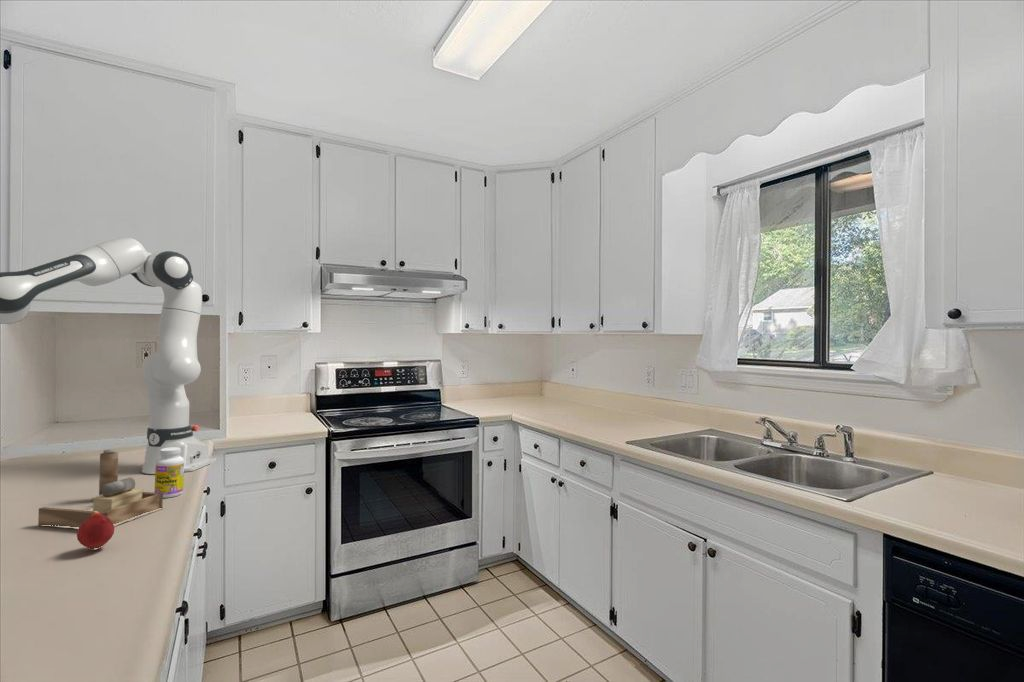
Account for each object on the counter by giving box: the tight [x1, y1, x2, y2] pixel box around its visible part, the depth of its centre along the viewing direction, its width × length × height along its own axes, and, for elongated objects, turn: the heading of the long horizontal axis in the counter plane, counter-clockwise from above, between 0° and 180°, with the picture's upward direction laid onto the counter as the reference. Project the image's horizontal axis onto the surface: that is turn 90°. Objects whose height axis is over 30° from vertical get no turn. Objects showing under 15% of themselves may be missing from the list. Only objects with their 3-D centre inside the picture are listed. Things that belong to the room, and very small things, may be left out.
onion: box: [76, 511, 115, 550], centre depth 103 cm, size 6×6×8 cm
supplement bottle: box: [153, 447, 185, 499], centre depth 140 cm, size 7×7×13 cm
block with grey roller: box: [91, 477, 145, 512], centre depth 121 cm, size 8×5×9 cm, turn 171°
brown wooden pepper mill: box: [98, 449, 119, 496], centre depth 135 cm, size 5×5×13 cm
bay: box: [37, 491, 164, 527], centre depth 122 cm, size 16×17×4 cm
